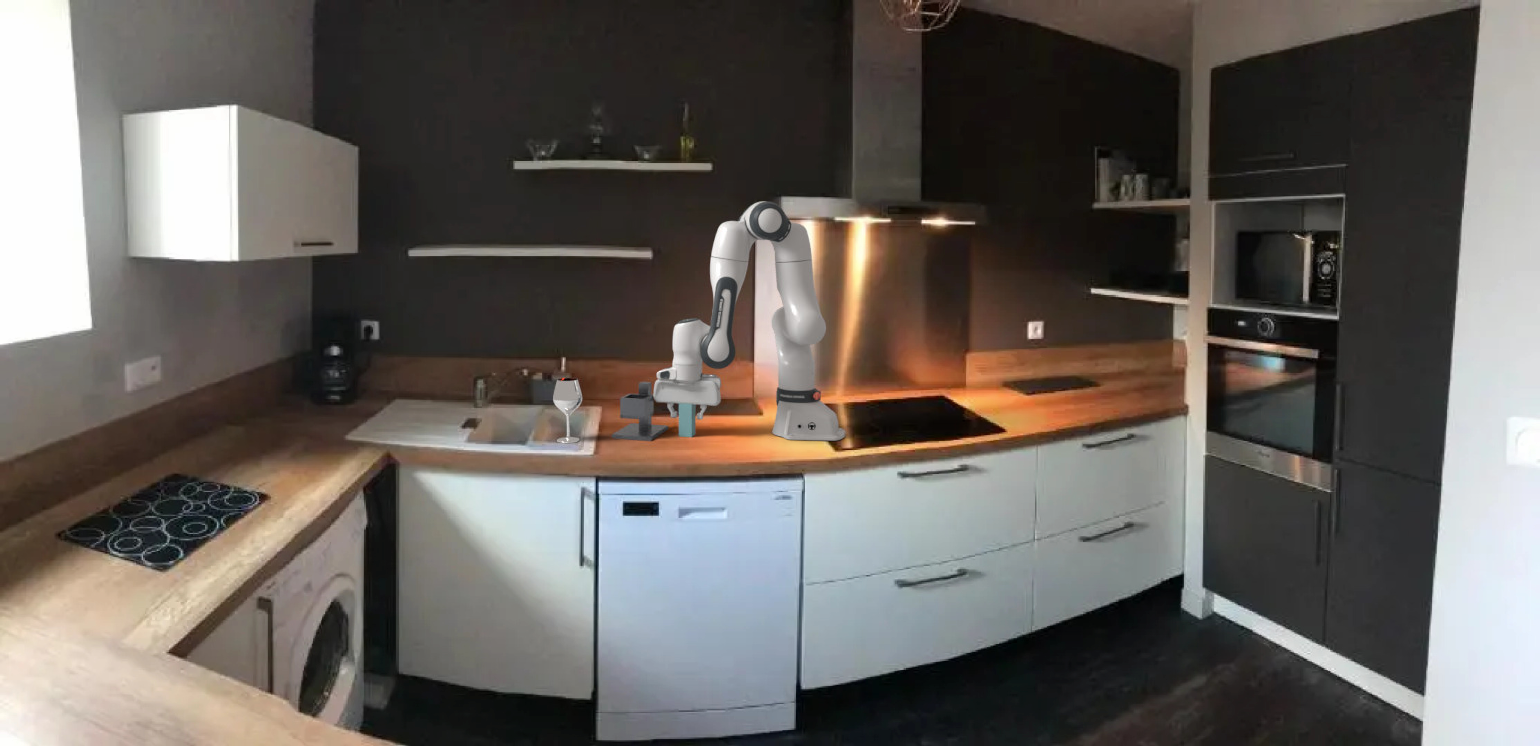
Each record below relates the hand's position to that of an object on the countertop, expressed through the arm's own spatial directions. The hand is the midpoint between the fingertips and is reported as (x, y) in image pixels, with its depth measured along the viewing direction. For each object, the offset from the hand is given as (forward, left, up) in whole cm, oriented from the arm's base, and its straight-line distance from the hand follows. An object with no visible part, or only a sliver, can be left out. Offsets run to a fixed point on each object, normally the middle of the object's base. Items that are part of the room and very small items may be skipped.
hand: (686, 418), depth 259 cm
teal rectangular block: (0, 0, -5) cm, 5 cm away
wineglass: (+31, +16, -5) cm, 35 cm away
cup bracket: (+14, +2, -5) cm, 15 cm away
